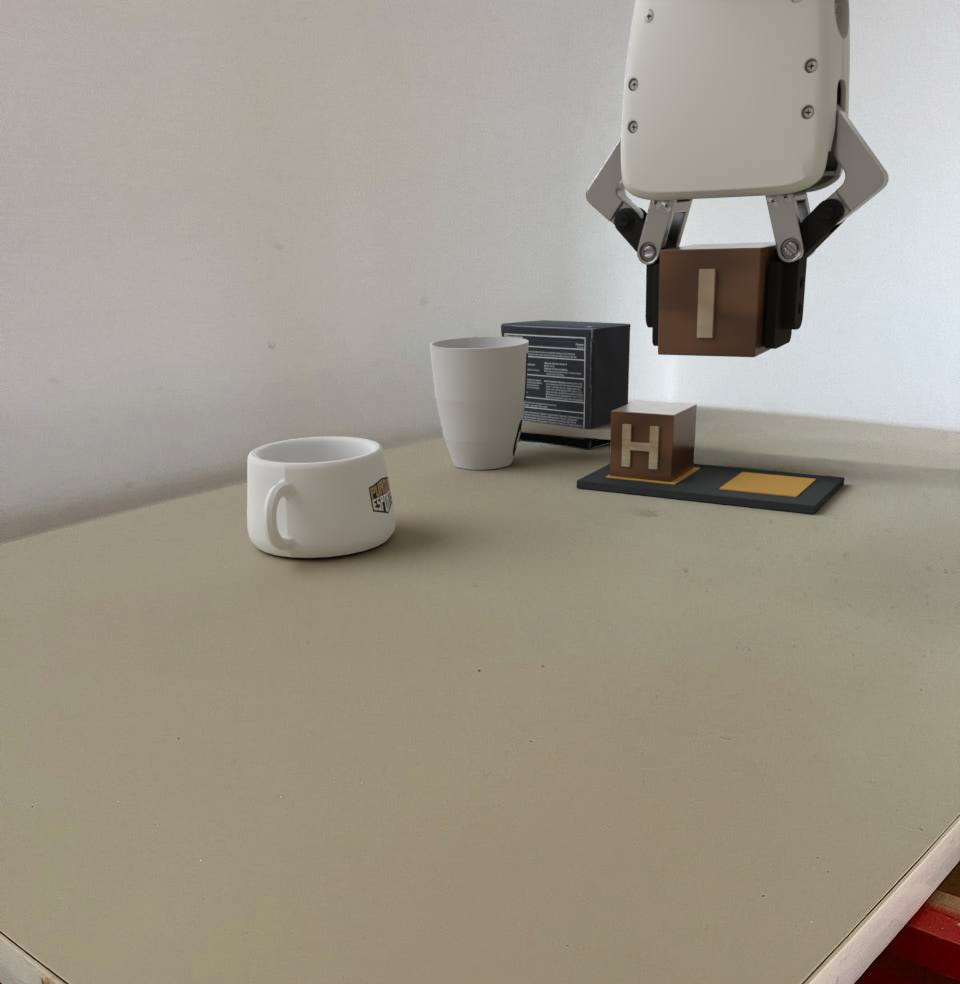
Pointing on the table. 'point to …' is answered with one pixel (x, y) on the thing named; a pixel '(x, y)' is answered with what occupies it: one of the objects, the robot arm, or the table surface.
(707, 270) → the block
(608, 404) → the small box
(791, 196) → the robot arm
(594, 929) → the table surface
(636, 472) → the letter h block
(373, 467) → the mug
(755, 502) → the word mat
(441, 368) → the cup
